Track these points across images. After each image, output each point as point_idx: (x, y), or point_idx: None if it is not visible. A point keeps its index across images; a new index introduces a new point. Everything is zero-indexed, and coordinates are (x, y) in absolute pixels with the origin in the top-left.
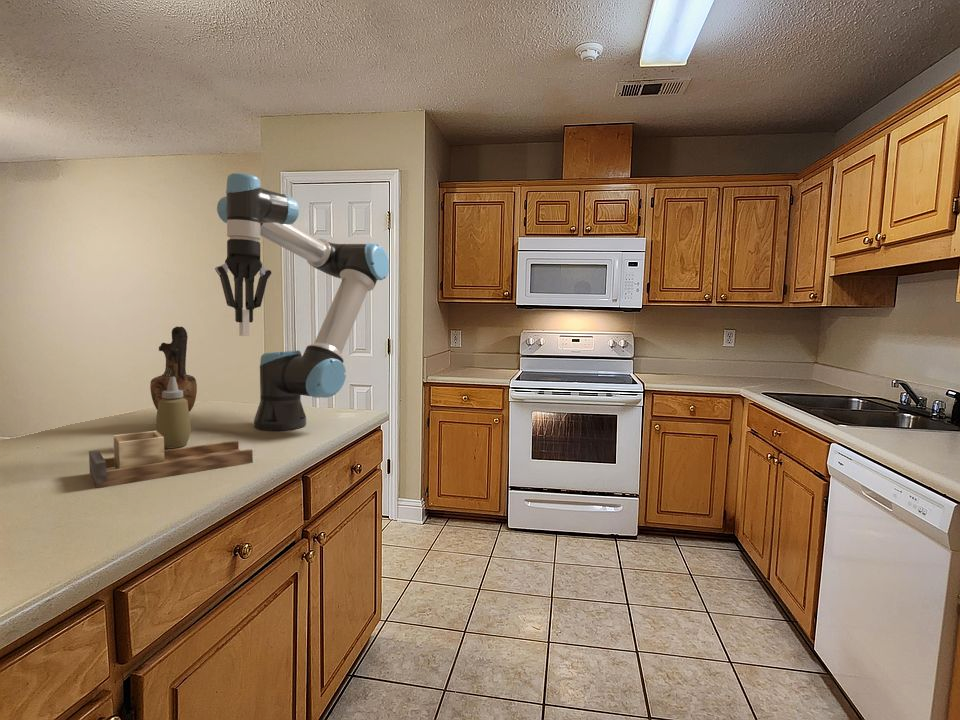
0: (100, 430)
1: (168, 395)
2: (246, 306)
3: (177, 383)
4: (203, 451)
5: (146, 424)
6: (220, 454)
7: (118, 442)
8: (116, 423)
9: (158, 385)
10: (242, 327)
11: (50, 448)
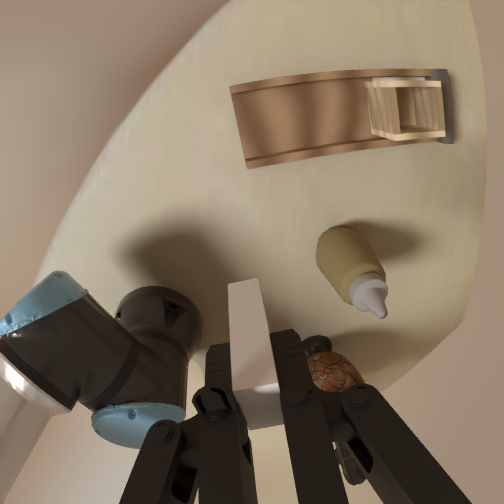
0: (393, 348)
1: (378, 277)
2: (246, 436)
3: (336, 384)
4: (306, 148)
5: None
6: (287, 79)
7: (440, 88)
8: (370, 376)
9: (361, 382)
10: (264, 310)
11: (448, 278)
